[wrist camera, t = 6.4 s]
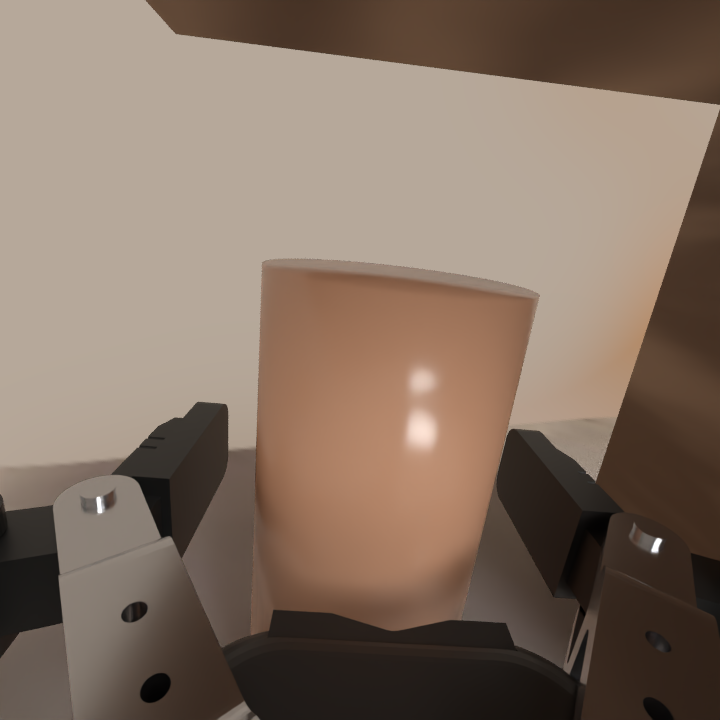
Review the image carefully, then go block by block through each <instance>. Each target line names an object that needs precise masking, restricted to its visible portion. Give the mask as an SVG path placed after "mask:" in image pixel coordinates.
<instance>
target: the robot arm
mask: <svg viewBox="0 0 720 720" xmlns="http://www.w3.org/2000/svg"><path fill="white" fill-rule="evenodd" d="M227 461H228V408H227V405H226V404H218V403H205V402H197V403H196V404H195V405H194V406H193V408H192V409H191V410H190V411H189V412H188V413H187V414H186V415H185V417H184V418H173V419H172V420H170V421H168V422H166V423H164V424H162V425H160V426H158V427H157V428H156V429H155V430H154V431H153V432H152V433H151V434H150V435H149V437H148V439H145V440H144V441H143V442H142V444H141V445H140V447H139V448H137V449H136V450H135V451H134V452H133V453H132V454H131V455H130V456H129V457H128V458H127V459H126V460H125V461H124V462H123V463H122V464H121V465H120V466H119V467H118V468H117V469H116V470H115V471H114V472H113V473H112V474H111V475H105V476H99V477H94V478H90V479H87V480H84V481H81V482H79V483H77V484H75V485H73V486H71V487H69V488H68V489H66V490H65V491H64V492H62V493H61V494H60V495H59V496H58V497H57V499H56V500H55V502H54V504H53V505H52V506H45V507H38V508H30V509H22V510H14V511H7V512H5V508H4V503H3V498H2V496H1V495H0V658H1V656H2V655H3V654H4V652H5V651H6V650H7V649H8V647H9V646H10V645H11V643H12V642H13V641H14V639H15V638H16V637H17V635H18V634H19V632H23V631H28V630H32V629H37V628H41V627H46V626H51V625H55V624H60V623H63V626H64V636H65V646H66V655H67V665H68V675H69V684H70V694H71V704H72V713H73V720H720V561H719V560H715V559H711V558H708V557H704V556H701V555H697V554H693V553H691V552H690V549H689V547H688V545H687V544H686V543H685V542H684V540H683V539H682V538H680V537H679V536H678V535H677V534H676V533H675V532H673V531H672V530H670V529H669V528H667V527H666V526H664V525H662V524H660V523H658V522H656V521H654V520H652V519H650V518H647V517H644V516H641V515H637V514H633V513H626V512H624V511H623V510H622V509H621V508H620V507H619V506H618V504H617V503H616V502H615V501H614V500H613V499H612V498H611V497H610V496H609V495H608V494H607V493H606V492H605V491H604V490H603V489H602V488H601V487H600V486H599V485H598V484H596V483H595V481H594V480H593V479H592V478H591V477H590V476H589V474H586V471H585V470H584V469H583V468H582V467H581V466H580V465H579V464H578V463H577V462H576V461H575V460H574V459H572V458H570V457H569V456H567V455H566V454H564V453H563V452H561V451H559V450H558V449H556V448H555V447H554V446H553V445H552V443H551V442H550V441H549V440H548V439H547V438H546V437H545V436H544V435H543V434H542V433H541V432H540V431H533V430H521V429H511V430H510V431H509V433H508V435H507V438H506V442H505V446H504V450H503V454H502V458H501V462H500V467H499V471H498V475H497V492H498V496H499V498H500V500H501V502H502V504H503V506H504V508H505V509H506V511H507V513H508V515H509V517H510V518H511V520H512V522H513V524H514V526H515V528H516V529H517V531H518V533H519V535H520V537H521V538H522V540H523V542H524V544H525V546H526V548H527V549H528V551H529V553H530V555H531V557H532V558H533V560H534V562H535V564H536V566H537V568H538V569H539V571H540V573H541V575H542V577H543V578H544V580H545V582H546V584H547V586H548V588H549V589H550V591H551V593H552V595H553V597H556V598H572V599H577V600H578V602H579V603H580V604H579V607H578V610H577V612H576V615H575V619H574V623H573V628H572V632H571V636H570V640H569V645H568V649H567V653H566V658H565V662H564V666H563V669H561V668H559V667H558V666H556V665H555V664H553V663H552V662H550V661H548V660H546V659H545V658H543V657H541V656H539V655H537V654H535V653H533V652H530V651H528V650H526V649H523V648H521V647H518V646H514V643H513V640H512V638H511V635H510V633H509V630H508V628H507V625H506V623H495V622H478V621H461V620H447V621H442V622H437V623H432V624H428V625H423V626H418V627H413V628H408V629H404V630H399V631H390V630H385V629H382V628H379V627H376V626H372V625H369V624H366V623H363V622H359V621H356V620H353V619H350V618H346V617H343V616H340V615H337V614H333V613H323V612H306V611H289V610H273V613H272V618H271V623H270V628H269V631H265V632H260V633H257V634H254V635H250V636H247V637H244V638H242V639H240V640H237V641H235V642H233V643H231V644H229V645H227V646H225V647H223V648H222V649H221V647H220V645H219V643H218V640H217V638H216V636H215V634H214V631H213V629H212V627H211V625H210V622H209V620H208V618H207V616H206V613H205V611H204V609H203V607H202V604H201V602H200V600H199V598H198V595H197V593H196V591H195V589H194V586H193V584H192V582H191V580H190V577H189V575H188V573H187V571H186V568H185V566H184V564H183V562H182V559H181V558H182V556H183V554H184V553H185V551H186V549H187V547H188V545H189V543H190V541H191V539H192V537H193V535H194V533H195V531H196V529H197V527H198V525H199V523H200V521H201V520H202V518H203V516H204V514H205V512H206V510H207V508H208V506H209V504H210V502H211V500H212V498H213V496H214V494H215V492H216V490H217V488H218V487H219V485H220V483H221V481H222V479H223V477H224V474H225V471H226V467H227Z"/></svg>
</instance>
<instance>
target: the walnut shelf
mask: <svg viewBox="0 0 720 720" xmlns="http://www.w3.org/2000/svg"><path fill="white" fill-rule="evenodd" d="M146 1H147V2H148V4H149V5H150V6H151V7H152V8H153V9H154V10H155V11H156V12H157V14H158V15H159V16H160V17H161V18H162V19H163V20H164V21H165V22H166V24H167V25H168V26H169V27H170V28H171V29H172V30H173V31H174V32H175V33H176V34H180V35H188V36H195V37H203V38H211V39H219V40H226V41H234V42H242V43H249V44H258V45H265V46H272V47H280V48H288V49H295V50H304V51H311V52H319V53H326V54H334V55H341V56H349V57H357V58H365V59H372V60H381V61H388V62H396V63H403V64H411V65H418V66H427V67H434V68H441V69H450V70H457V71H465V72H472V73H480V74H487V75H495V76H503V77H511V78H518V79H526V80H533V81H542V82H549V83H557V84H564V85H572V86H580V87H587V88H596V89H603V90H611V91H619V92H626V93H633V94H641V95H649V96H656V97H664V98H672V99H680V100H687V101H695V102H703V103H710V104H718V105H720V0H146ZM596 484H598V485H599V486H600V487H601V488H602V489H603V490H604V491H605V492H606V493H607V494H608V495H609V496H610V497H611V498H612V499H613V500H614V501H615V502H616V503H617V504H618V506H619V507H620V508H621V509H622V510H623V511H624V512H626V513H633V514H637V515H641V516H644V517H647V518H650V519H652V520H654V521H656V522H658V523H660V524H662V525H664V526H666V527H667V528H669V529H670V530H672V531H673V532H675V533H676V534H677V535H678V536H679V537H680V538H682V539H683V540H684V542H685V543H686V544H687V545H688V547H689V549H690V552H691V553H693V554H697V555H701V556H704V557H708V558H711V559H715V560H719V561H720V111H719V114H718V117H717V120H716V123H715V126H714V129H713V132H712V135H711V138H710V141H709V144H708V147H707V150H706V153H705V156H704V159H703V162H702V165H701V168H700V171H699V174H698V177H697V180H696V183H695V186H694V189H693V192H692V195H691V198H690V201H689V204H688V207H687V210H686V213H685V216H684V219H683V222H682V225H681V228H680V231H679V234H678V237H677V240H676V243H675V246H674V249H673V252H672V255H671V258H670V261H669V264H668V267H667V270H666V273H665V276H664V279H663V282H662V285H661V288H660V291H659V294H658V297H657V300H656V303H655V306H654V309H653V312H652V315H651V318H650V321H649V324H648V327H647V330H646V333H645V336H644V339H643V342H642V345H641V348H640V351H639V354H638V357H637V360H636V363H635V366H634V369H633V372H632V375H631V378H630V381H629V384H628V387H627V390H626V393H625V397H624V399H623V403H622V406H621V408H620V411H619V414H618V417H617V420H616V423H615V426H614V429H613V432H612V435H611V438H610V441H609V444H608V447H607V450H606V453H605V456H604V459H603V462H602V465H601V468H600V471H599V474H598V477H597V480H596Z"/></svg>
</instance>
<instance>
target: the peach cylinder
mask: <svg viewBox="0 0 720 720" xmlns="http://www.w3.org/2000/svg"><path fill="white" fill-rule="evenodd" d="M538 300H539V294H538V293H536V292H534V291H531V290H529V289H525V288H522V287H519V286H515V285H511V284H507V283H502V282H497V281H493V280H487V279H482V278H477V277H470V276H465V275H459V274H452V273H446V272H439V271H432V270H425V269H418V268H409V267H401V266H392V265H383V264H374V263H363V262H351V261H338V260H321V259H273V260H267V261H264V262H262V285H261V318H260V347H259V350H260V351H259V378H258V410H257V411H258V412H257V442H256V473H255V505H254V536H253V568H252V599H251V631H250V635H254V634H257V633H260V632H265V631H269V628H270V623H271V618H272V613H273V610H289V611H306V612H323V613H333V614H337V615H340V616H343V617H346V618H350V619H353V620H356V621H359V622H363V623H366V624H369V625H372V626H376V627H379V628H382V629H385V630H390V631H399V630H404V629H408V628H413V627H418V626H423V625H428V624H432V623H437V622H442V621H447V620H461V619H462V615H463V611H464V606H465V602H466V598H467V594H468V590H469V586H470V582H471V577H472V573H473V569H474V565H475V561H476V557H477V553H478V549H479V544H480V540H481V536H482V532H483V528H484V524H485V520H486V515H487V511H488V507H489V503H490V499H491V495H492V491H493V486H494V482H495V478H496V474H497V470H498V466H499V462H500V457H501V453H502V449H503V445H504V441H505V437H506V433H507V428H508V424H509V420H510V416H511V412H512V408H513V404H514V399H515V395H516V391H517V387H518V383H519V379H520V375H521V371H522V366H523V362H524V358H525V354H526V350H527V345H528V342H529V337H530V333H531V329H532V325H533V321H534V317H535V312H536V308H537V304H538Z"/></svg>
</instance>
